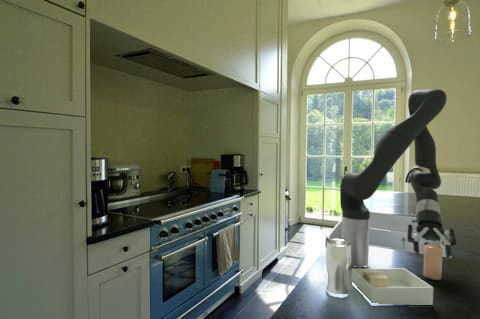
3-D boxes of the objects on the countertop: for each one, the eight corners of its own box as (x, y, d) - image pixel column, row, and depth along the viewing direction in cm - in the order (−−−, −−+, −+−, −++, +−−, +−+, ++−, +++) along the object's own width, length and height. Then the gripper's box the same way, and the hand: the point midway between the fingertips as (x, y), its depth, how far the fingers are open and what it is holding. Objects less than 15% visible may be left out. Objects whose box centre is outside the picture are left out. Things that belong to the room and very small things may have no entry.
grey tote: (371, 306, 79) (372, 288, 79) (351, 284, 92) (351, 268, 92) (432, 305, 80) (433, 287, 80) (404, 284, 93) (404, 268, 93)
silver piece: (330, 285, 91) (331, 237, 90) (353, 292, 87) (355, 242, 86) (320, 294, 86) (322, 242, 85) (345, 302, 81) (346, 248, 81)
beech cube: (387, 295, 83) (388, 277, 83) (370, 295, 83) (370, 278, 83) (378, 287, 88) (378, 270, 88) (361, 287, 88) (362, 270, 88)
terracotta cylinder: (425, 278, 97) (426, 248, 97) (421, 272, 102) (422, 243, 101) (443, 280, 96) (444, 250, 95) (438, 274, 100) (439, 245, 100)
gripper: (407, 206, 110) (409, 246, 100) (453, 210, 104) (460, 253, 94) (405, 218, 115) (407, 257, 105) (449, 222, 109) (456, 264, 99)
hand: (432, 255), depth 100 cm, fingers open, 8 cm apart
